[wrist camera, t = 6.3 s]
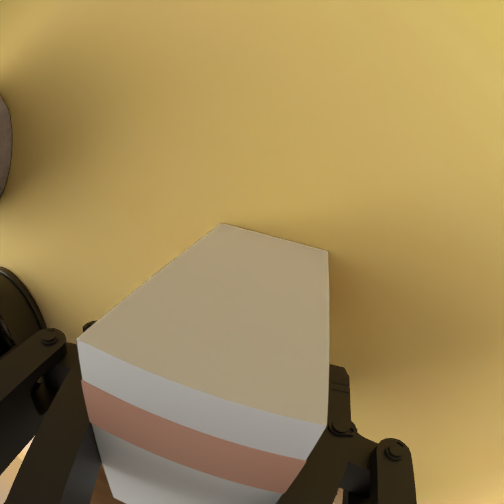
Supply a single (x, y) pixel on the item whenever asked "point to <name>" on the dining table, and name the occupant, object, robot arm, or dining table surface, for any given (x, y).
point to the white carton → (213, 373)
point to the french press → (17, 312)
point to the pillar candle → (5, 143)
